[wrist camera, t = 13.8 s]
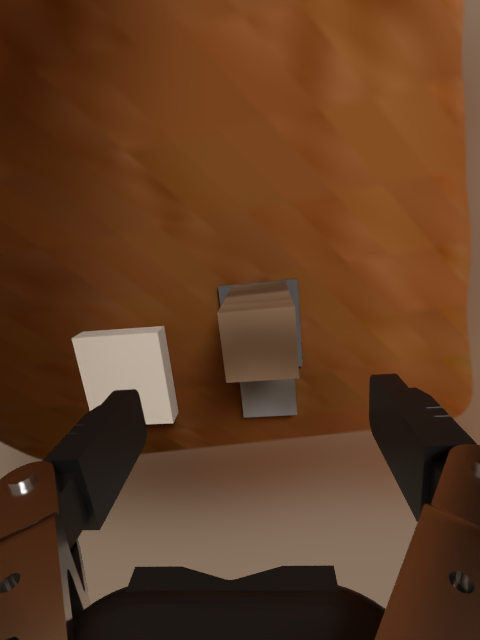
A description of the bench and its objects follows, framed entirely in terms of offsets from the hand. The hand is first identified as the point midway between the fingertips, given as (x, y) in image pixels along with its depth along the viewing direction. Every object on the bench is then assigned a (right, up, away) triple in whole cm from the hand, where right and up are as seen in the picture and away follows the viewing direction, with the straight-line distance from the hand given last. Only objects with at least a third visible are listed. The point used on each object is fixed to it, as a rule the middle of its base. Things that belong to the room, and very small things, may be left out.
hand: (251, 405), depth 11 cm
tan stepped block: (+2, 0, +15) cm, 15 cm away
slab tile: (-10, +2, +15) cm, 18 cm away
